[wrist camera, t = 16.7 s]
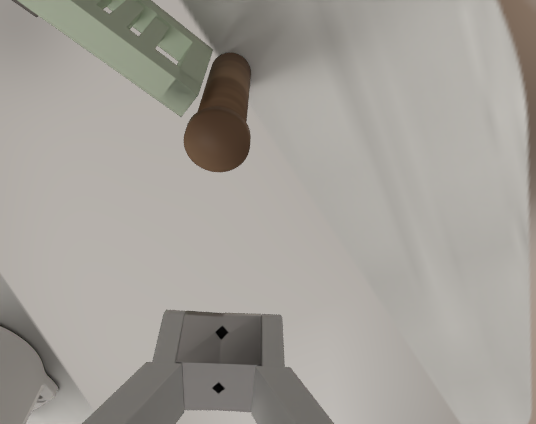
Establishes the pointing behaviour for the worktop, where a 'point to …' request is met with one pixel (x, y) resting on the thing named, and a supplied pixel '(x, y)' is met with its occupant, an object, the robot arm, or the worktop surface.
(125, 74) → the block
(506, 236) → the worktop surface
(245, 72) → the hinge post
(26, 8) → the post
